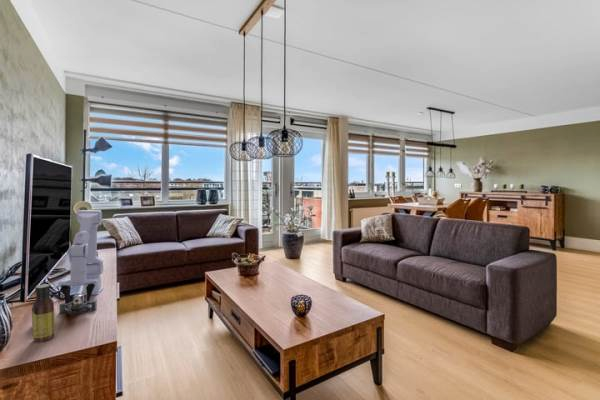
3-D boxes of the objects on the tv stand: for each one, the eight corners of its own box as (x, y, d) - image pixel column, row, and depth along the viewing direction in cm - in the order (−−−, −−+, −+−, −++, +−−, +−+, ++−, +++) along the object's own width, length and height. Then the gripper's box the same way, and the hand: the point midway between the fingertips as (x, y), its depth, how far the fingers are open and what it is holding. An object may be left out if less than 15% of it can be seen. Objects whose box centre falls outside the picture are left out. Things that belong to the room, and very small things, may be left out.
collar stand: (63, 309, 137) (63, 299, 137) (98, 306, 141) (98, 297, 141) (56, 316, 130) (56, 306, 130) (93, 312, 134) (93, 303, 134)
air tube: (74, 309, 137) (74, 294, 137) (85, 308, 138) (85, 293, 138) (71, 313, 133) (71, 297, 133) (81, 312, 134) (81, 296, 134)
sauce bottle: (41, 334, 114) (41, 282, 113) (59, 334, 115) (59, 282, 114) (27, 343, 108) (26, 288, 107) (45, 343, 108) (45, 288, 107)
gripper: (54, 274, 129) (54, 306, 129) (94, 272, 134) (94, 303, 134) (61, 270, 135) (61, 300, 136) (99, 268, 140) (99, 297, 141)
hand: (78, 301), depth 135 cm, fingers open, 7 cm apart
